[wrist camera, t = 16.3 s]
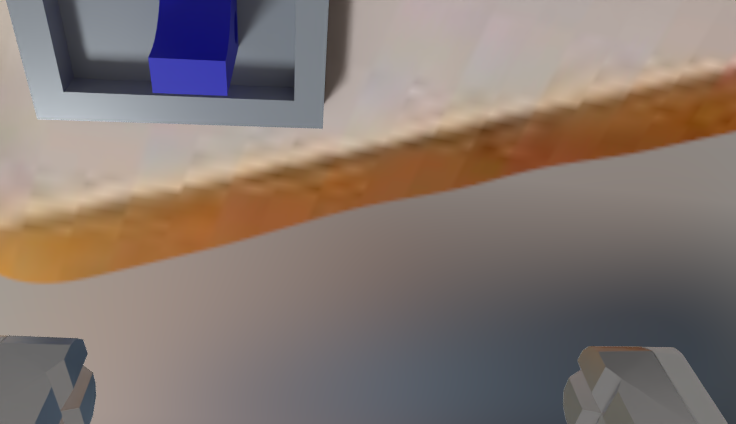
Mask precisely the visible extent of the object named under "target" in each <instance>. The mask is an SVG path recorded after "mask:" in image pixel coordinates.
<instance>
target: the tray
mask: <svg viewBox="0 0 736 424" xmlns="http://www.w3.org/2000/svg"><path fill="white" fill-rule="evenodd" d="M6 2H7V6H8V10H9V13H10V17H11V21H12V25H13V29H14V32H15V36H16V40H17V44H18V47H19V51H20V55H21V59H22V63H23V66H24V70H25V74H26V78H27V82H28V85H29V89H30V93H31V97H32V100H33V104H34V108H35V112H36V116H37V119H46V120H77V121H107V122H138V123H168V124H199V125H230V126H260V127H291V128H321V129H323V110H324V89H325V69H326V49H327V28H328V8H329V0H237V22H238V51H237V56H236V60H235V65H234V69H233V74H232V78H231V82H230V87H229V91H228V96H217V95H192V94H166V93H153V91H152V84H151V76H150V69H149V61H148V57H149V55H150V52H151V50H152V47H153V43H154V39H155V34H156V29H157V22H158V12H159V0H6Z"/></svg>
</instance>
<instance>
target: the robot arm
mask: <svg viewBox="0 0 736 424" xmlns="http://www.w3.org/2000/svg"><path fill="white" fill-rule="evenodd" d="M86 357H87V350H86V347H85V344H84V341H83V340H82V339H77V338H53V337H31V336H0V424H90V422H91V419H92V416H93V411H94V405H95V399H96V385H95V379H94V375H93V372H92V371H90V370H89V369H87V368H86V367H85V366H83V364H84V362H85V359H86ZM578 363H579V366H580V368H581V370H580V371H578V372H577V373H575V374H574V375H572V376H571V377H569V379H568V381H567V384H566V386H565V388H564V396H563V408H564V412H565V418H566V421H567V424H728V423H727V422H726V420H725V419H724V417H723V416H722V414H721V413H720V411H719V410H718V408H717V406H716V405H715V403H714V402H713V401H712V399H711V397H710V396H709V394H708V393H707V391H706V390H705V388H704V387H703V385H702V384H701V382H700V381H699V379H698V377H697V376H696V374H695V373H694V371H693V370H692V368H691V367H690V365H689V364H688V362H687V361H686V359H685V358H684V356H683V355H682V354H681V353H680V352H679V351H678V350H676V349H675V348H672V347H671V348H670V347H629V346H624V347H623V346H621V347H620V346H618V347H617V346H607V347H606V346H589V347H587V348H586V349H584V350H583V351H582V352H581V354H580V356H579V358H578Z"/></svg>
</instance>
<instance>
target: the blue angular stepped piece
mask: <svg viewBox="0 0 736 424" xmlns="http://www.w3.org/2000/svg"><path fill="white" fill-rule="evenodd" d="M237 51H238V22H237V0H159V12H158V22H157V29H156V34H155V39H154V43H153V47H152V50H151V52H150V55H149V57H148V61H149V69H150V76H151V84H152V91H153V93H166V94H192V95H217V96H228V91H229V87H230V82H231V78H232V74H233V69H234V65H235V60H236V56H237Z"/></svg>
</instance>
